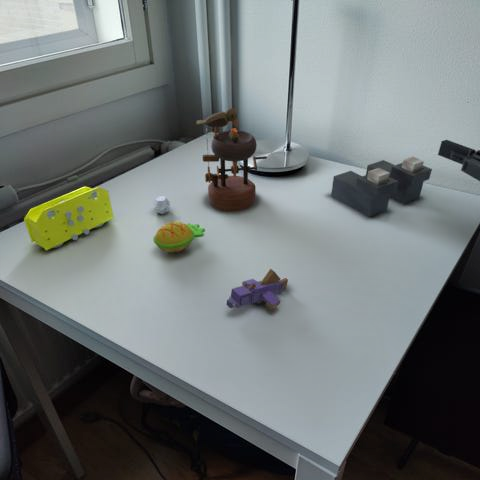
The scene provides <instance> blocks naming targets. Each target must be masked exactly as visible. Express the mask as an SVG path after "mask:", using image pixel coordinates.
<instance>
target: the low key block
mask: <svg viewBox="0 0 480 480" xmlns="http://www.w3.org/2000/svg"><path fill="white" fill-rule="evenodd" d="M402 164H403V162H401V163H398V164H394V163H392V162H389V161H387V160H384V159H382V160H379V161H376V162H373V163H370V164H367V166H366V171H365V175H368V171H371V170H374V169H377V168H380V169H382V170H385V171H387V172H389V173H390V174H389V177H391V178H393V179H395V180H397V181H398V185H397V189H396V192H393V193H391V194H390V198H389V199H392V200H394V201H396V202H398V203H400V204H402V205H405V204H408V203H411V202H413V201H416V200H418V199H420V197H421V193H422V189H423V187H424V182H426V181H428V180H430V178H431V174H432V171H433V169H432V168H430V167H428V166H425V165H423V167H422V170H419V171H416V172H413V173H412V172H410V171H408V170H406V169H403V168H402Z"/></svg>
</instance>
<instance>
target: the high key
mask: <svg viewBox="0 0 480 480" xmlns="http://www.w3.org/2000/svg"><path fill="white" fill-rule="evenodd" d="M389 174H390V173H389V172H387V171H385V170H382V169H380V168H377V169H374V170H371V171H368V177H367V180H369V181H371V182H373V183H375V184H377V185H379V184H382V183H385V182H387V181H388V178H389Z"/></svg>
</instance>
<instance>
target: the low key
mask: <svg viewBox="0 0 480 480" xmlns="http://www.w3.org/2000/svg"><path fill="white" fill-rule="evenodd" d="M402 163H403V164H402V168H403V169H406V170H408V171H410V172H412V173H413V172H416V171H419V170H422V167H423V166H424V163H425V161H424V160H423V159H420V158H417V157H415V156H411V157H408V158H404V159H403V160H402Z"/></svg>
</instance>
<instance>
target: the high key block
mask: <svg viewBox="0 0 480 480" xmlns="http://www.w3.org/2000/svg"><path fill="white" fill-rule="evenodd" d="M367 177H368V175H366V174H365V175H360V174H359V173H357V172H355V171H353V170H349V171H345V172H342V173H340V174H336V175H333V179H332V186H331V194H330V196H331V197H333V198H334V199H336V200H338V201H339V202H341V203H343V204H345V205H347V206H349V207H350V208H352V209H353V210H356V211H357V212H358V213H361V214H362V215H364V216H366V217H368V218H373V217H374V216H376V215H379V214H382V213H385V212H387V210H388V207H389V203H390V199H391V198H390V194H391V193H393V192H396V189H397V185H398V181H397V180H395V179H393V178H391V177H389V178H388V181H387V182H385V183H382V184H379V185H377V184H375V183H373V182H371V181H369V180H367Z"/></svg>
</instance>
